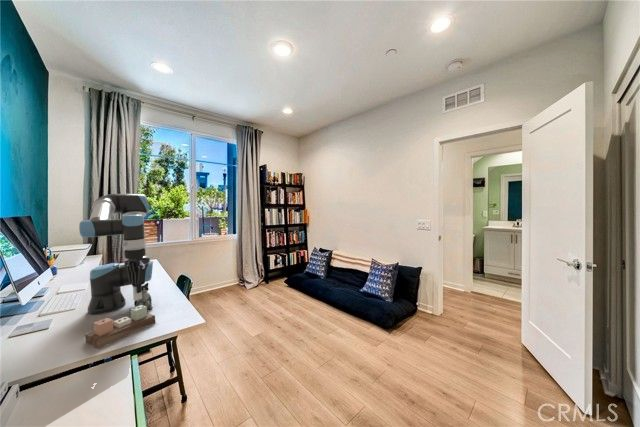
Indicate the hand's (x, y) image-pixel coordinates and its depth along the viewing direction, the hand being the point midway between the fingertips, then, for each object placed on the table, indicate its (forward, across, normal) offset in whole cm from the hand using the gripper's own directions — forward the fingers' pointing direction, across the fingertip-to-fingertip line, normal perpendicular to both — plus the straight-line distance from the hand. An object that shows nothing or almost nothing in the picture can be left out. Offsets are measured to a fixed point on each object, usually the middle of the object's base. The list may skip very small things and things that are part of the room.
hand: (137, 299), depth 107 cm
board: (+12, 0, -6) cm, 14 cm away
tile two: (+12, 0, -6) cm, 13 cm away
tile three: (+9, 0, 0) cm, 9 cm away
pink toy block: (+9, 0, -13) cm, 16 cm away
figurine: (+12, -14, +8) cm, 21 cm away
